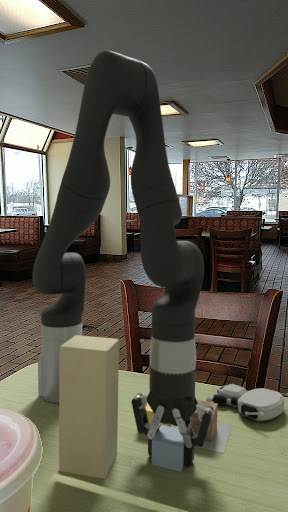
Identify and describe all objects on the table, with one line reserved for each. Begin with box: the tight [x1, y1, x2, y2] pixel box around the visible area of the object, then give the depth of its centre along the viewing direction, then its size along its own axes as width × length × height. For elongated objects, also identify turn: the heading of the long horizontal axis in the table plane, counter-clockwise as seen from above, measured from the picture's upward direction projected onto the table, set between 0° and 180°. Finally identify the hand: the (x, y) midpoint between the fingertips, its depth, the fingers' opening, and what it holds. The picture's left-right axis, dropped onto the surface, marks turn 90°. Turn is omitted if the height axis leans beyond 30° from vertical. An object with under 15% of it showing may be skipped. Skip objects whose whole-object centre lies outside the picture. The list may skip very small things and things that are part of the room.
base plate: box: [175, 421, 233, 454], centre depth 71 cm, size 10×10×1 cm
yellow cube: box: [145, 403, 170, 427], centre depth 73 cm, size 5×5×5 cm
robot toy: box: [205, 383, 288, 422], centre depth 82 cm, size 12×4×15 cm
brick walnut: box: [190, 399, 219, 442], centre depth 71 cm, size 5×5×5 cm
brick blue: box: [151, 425, 185, 473], centre depth 63 cm, size 5×5×5 cm
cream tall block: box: [58, 335, 120, 479], centre depth 62 cm, size 8×7×21 cm
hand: (170, 460), depth 63 cm, fingers closed on brick blue, 5 cm apart
